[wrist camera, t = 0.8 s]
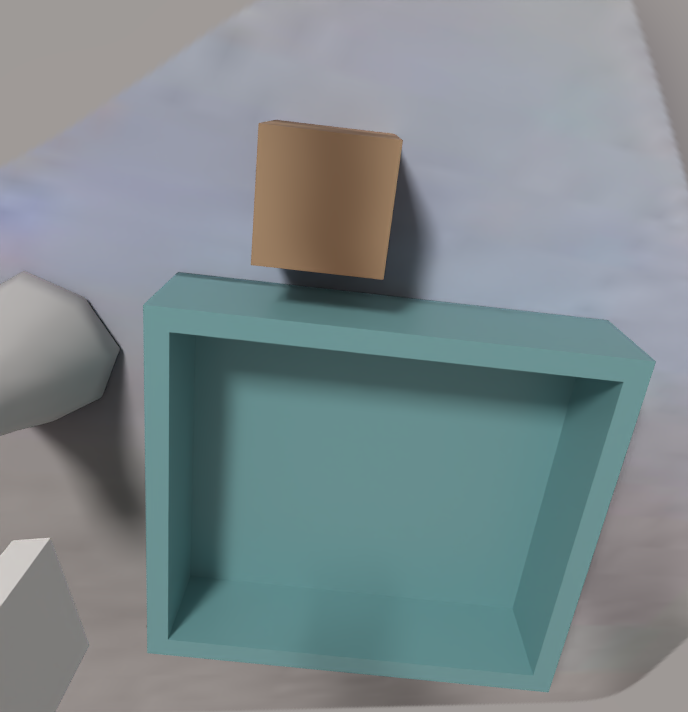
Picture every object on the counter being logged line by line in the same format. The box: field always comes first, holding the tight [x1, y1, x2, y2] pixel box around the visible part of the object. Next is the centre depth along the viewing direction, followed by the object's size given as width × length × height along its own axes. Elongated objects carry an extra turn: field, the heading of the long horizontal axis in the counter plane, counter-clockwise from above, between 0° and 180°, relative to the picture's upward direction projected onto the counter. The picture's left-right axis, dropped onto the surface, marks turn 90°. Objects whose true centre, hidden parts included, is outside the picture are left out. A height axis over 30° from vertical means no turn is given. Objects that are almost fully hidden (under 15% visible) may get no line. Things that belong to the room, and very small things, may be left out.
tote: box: [143, 272, 656, 692], centre depth 30 cm, size 20×18×5 cm
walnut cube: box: [251, 120, 403, 280], centre depth 25 cm, size 5×5×5 cm
